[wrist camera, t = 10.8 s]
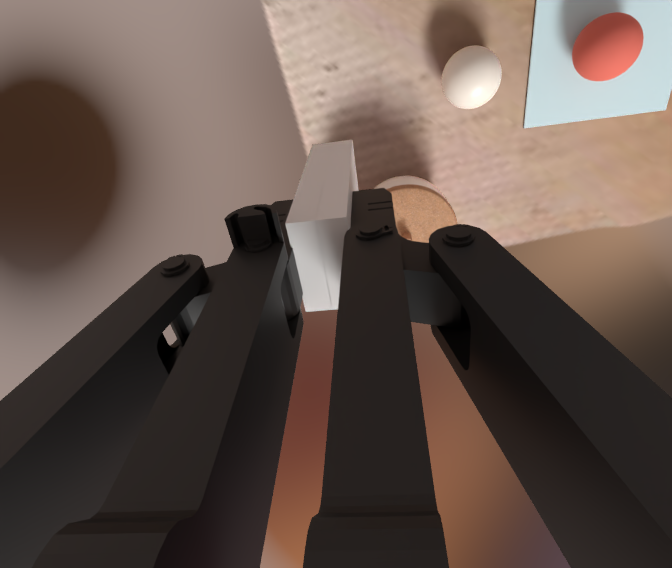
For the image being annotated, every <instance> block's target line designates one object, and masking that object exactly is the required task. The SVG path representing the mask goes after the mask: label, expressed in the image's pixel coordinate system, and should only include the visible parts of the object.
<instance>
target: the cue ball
mask: <svg viewBox="0 0 672 568" xmlns="http://www.w3.org/2000/svg"><path fill="white" fill-rule="evenodd" d="M501 76H502V70H501V65H500V62H499V59H498V58H497V56H496V55H495V53H494V52H492V51H491V50H490V49H488V48H486V47H483V46H478V45H473V46H468V47H465V48H462V49H460V50H459V51H457V52H456V53H455V54H454V55H453V56H452V57H451V58H450V59H449V60H448V62H447V63H446V65H445V67H444V70H443V73H442V89H443V92H444V95H445V97H446V98H447V100H448V101H449V102H450V103H451V104H453V105H454V106H456V107H459V108H462V109H473V108H477V107H480V106H482V105H484V104H485V103H487V102H488V101H489V100H490V99H491V98H492V97H493V96H494V94H495V93H496V91H497V90H498V87H499V85H500V82H501Z"/></svg>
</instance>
